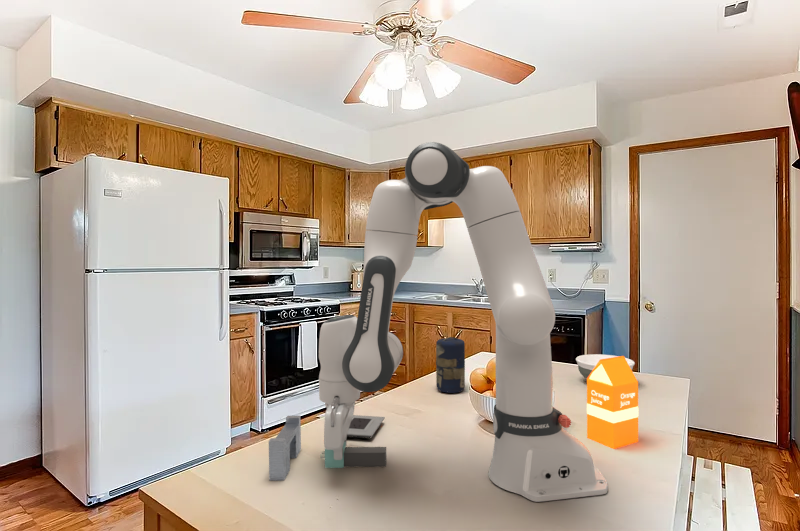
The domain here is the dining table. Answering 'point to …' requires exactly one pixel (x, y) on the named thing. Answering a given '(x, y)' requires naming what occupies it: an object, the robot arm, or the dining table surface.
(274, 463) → the grey piece
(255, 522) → the dining table surface
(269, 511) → the dining table surface
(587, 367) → the bowl
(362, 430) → the electrical outlet
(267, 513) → the dining table surface
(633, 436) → the orange juice
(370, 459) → the plug
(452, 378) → the canister
